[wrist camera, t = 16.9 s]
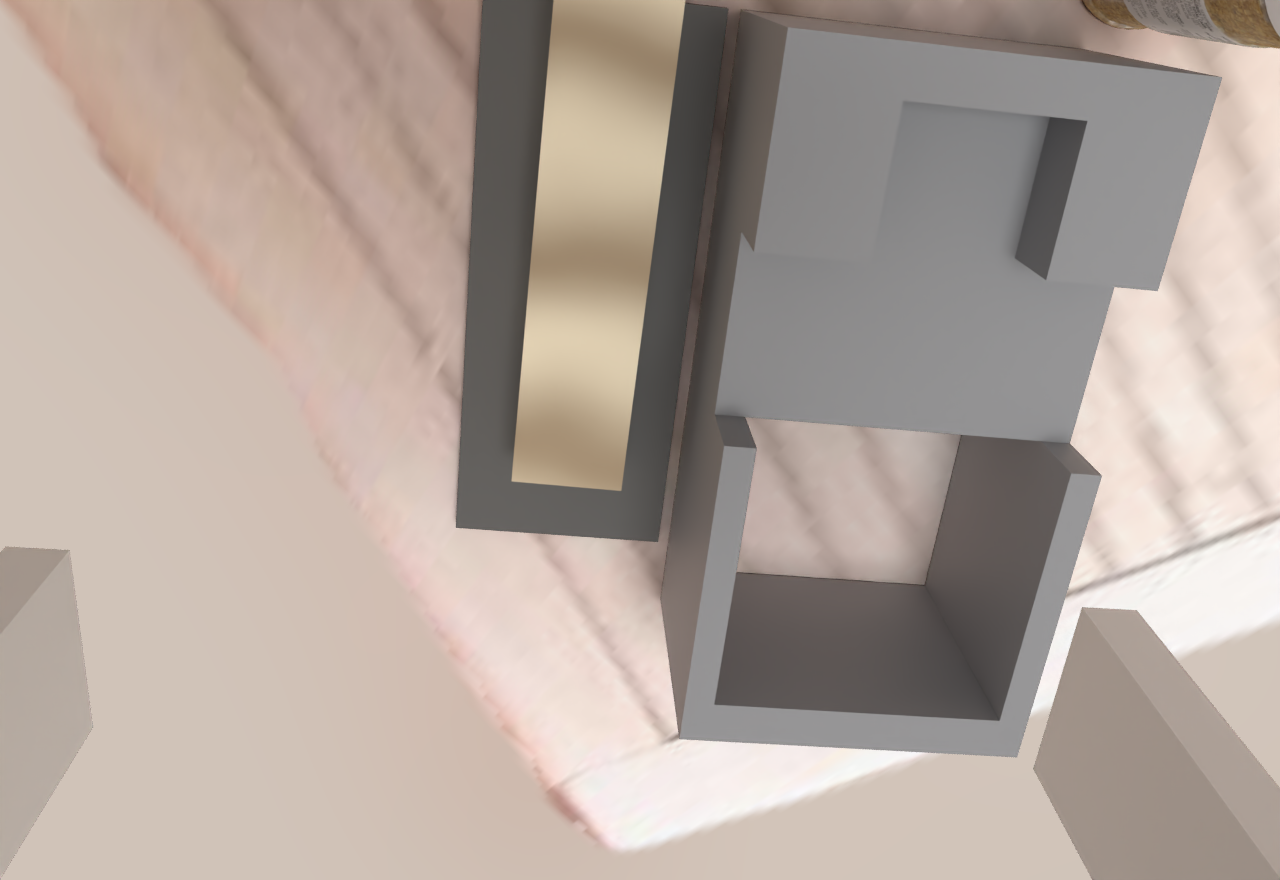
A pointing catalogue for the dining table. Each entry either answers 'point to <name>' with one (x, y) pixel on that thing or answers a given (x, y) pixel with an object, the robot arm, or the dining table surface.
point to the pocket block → (911, 360)
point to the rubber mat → (503, 270)
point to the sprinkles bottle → (1197, 19)
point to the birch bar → (593, 236)
